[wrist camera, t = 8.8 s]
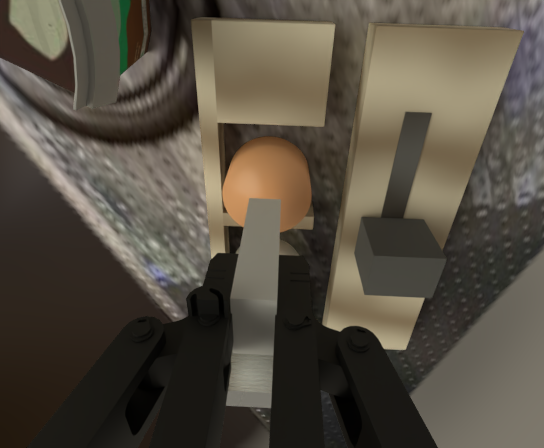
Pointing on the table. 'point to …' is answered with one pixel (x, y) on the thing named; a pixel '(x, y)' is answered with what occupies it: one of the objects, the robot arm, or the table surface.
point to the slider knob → (398, 257)
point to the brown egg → (268, 179)
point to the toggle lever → (250, 380)
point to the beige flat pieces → (358, 130)
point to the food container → (76, 42)
